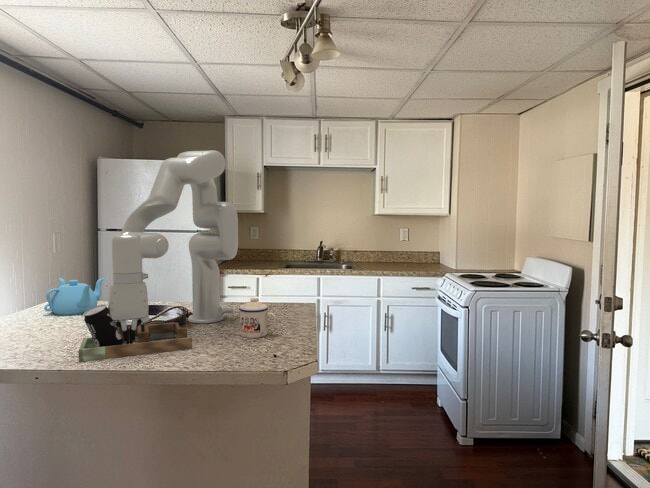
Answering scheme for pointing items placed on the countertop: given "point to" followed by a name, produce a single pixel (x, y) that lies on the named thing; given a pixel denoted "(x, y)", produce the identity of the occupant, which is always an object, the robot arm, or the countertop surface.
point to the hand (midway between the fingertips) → (129, 343)
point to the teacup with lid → (254, 319)
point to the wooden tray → (139, 343)
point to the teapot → (73, 297)
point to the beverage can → (102, 327)
